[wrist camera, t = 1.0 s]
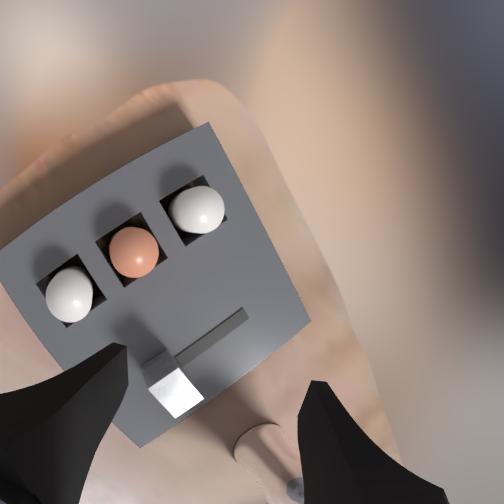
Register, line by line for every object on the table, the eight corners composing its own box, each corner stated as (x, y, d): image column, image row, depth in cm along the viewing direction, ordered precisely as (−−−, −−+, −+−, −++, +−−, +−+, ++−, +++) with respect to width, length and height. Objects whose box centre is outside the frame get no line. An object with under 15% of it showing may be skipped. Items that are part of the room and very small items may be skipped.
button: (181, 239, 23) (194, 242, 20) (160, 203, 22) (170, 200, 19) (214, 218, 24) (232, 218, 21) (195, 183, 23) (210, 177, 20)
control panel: (134, 428, 24) (140, 448, 21) (0, 255, 18) (-13, 260, 16) (292, 312, 30) (311, 321, 27) (196, 131, 24) (209, 121, 22)
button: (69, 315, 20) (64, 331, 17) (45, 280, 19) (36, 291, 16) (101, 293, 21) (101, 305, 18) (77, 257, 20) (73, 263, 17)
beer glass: (220, 469, 28) (297, 570, 15) (241, 417, 29) (338, 516, 15) (274, 467, 31) (356, 548, 18) (296, 420, 32) (395, 496, 18)
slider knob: (164, 395, 22) (175, 418, 19) (140, 367, 21) (147, 388, 18) (190, 377, 22) (203, 398, 20) (167, 348, 22) (178, 367, 19)
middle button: (123, 277, 22) (127, 287, 19) (101, 241, 21) (100, 245, 18) (158, 254, 23) (167, 260, 20) (136, 218, 22) (142, 218, 19)
